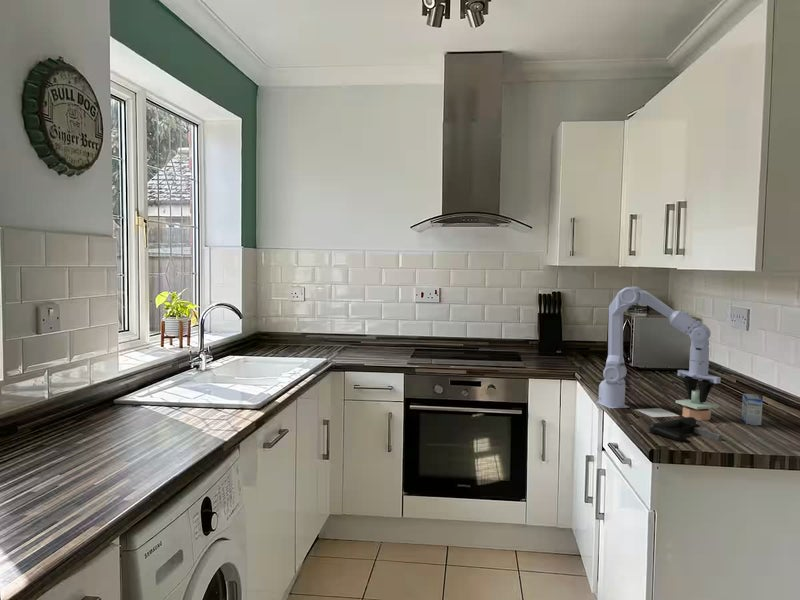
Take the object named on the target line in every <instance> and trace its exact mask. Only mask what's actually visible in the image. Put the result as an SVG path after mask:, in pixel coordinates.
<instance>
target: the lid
mask: <svg viewBox="0 0 800 600" xmlns="http://www.w3.org/2000/svg"><path fill="white" fill-rule="evenodd" d="M675 403H676V404H679V405H682V406H684V405H685V406H688V407H691V408H694V409H708V408H710V409H717V408H720V405H719V404H716V403H714V402H709V401H706V402H700V390H699V389H696V390H692V394H691V400H689V398H688V399H676V400H675Z"/></svg>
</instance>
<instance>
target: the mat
mask: <svg viewBox="0 0 800 600" xmlns="http://www.w3.org/2000/svg"><path fill="white" fill-rule="evenodd" d="M634 410H635V411H636V412H640V413H642V414H644V415H647V416H649V417H651V418H664V417H665V418H667V417H680V415H679V414H677V413H674V412H672V411H669V410H666V409H663V408H656V407H655V408H637V409H636V408H635V409H634Z"/></svg>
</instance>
